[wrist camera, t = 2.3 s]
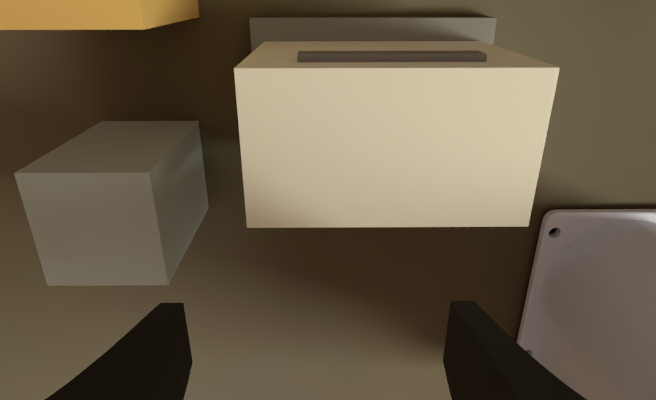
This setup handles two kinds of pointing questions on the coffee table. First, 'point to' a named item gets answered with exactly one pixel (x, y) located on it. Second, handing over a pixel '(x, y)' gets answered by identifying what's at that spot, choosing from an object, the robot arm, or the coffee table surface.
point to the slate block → (116, 203)
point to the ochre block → (94, 14)
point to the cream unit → (389, 123)
